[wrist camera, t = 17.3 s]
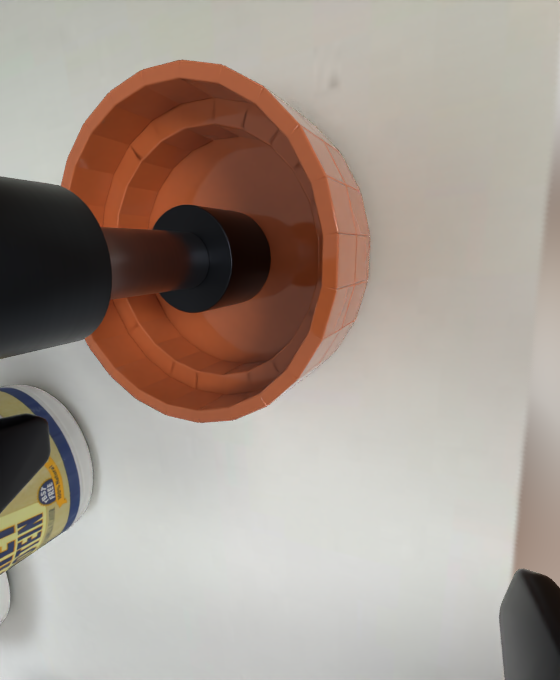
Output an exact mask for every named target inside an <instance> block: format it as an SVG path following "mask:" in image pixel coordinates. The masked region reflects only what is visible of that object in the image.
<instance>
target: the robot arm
mask: <svg viewBox="0 0 560 680" xmlns="http://www.w3.org/2000/svg"><path fill="white" fill-rule="evenodd" d="M50 453H51V447H50V436H49V425H48V422H47V420H46V419H45V418H43V417H40V416H37V415H34V414H29V413H24V414H19V415H14V416H9V417H4V418H0V513H1V512H2V511H3V510H4V509H5V508H6V507H7V506H8V505H9V504H10V502H11V501H12V500H13V499H14V498H15V497H16V496H17V495H18V494H19V492H20V491H21V490H22V489H23V488H24V487H25V486H26V485H27V484H28V482H29V481H30V480H31V479H32V478H33V477H34V476H35V475H36V474H37V472H38V471H39V470H40V469H41V468H42V467H43V466H44V465H45V463H46V462H47V461H48V459H49V456H50ZM499 621H500V633H501V644H502V655H503V666H504V677H505V680H560V588H559V587H558V586H557V585H556V583H555V582H554V581H553V580H552V579H550V578H549V577H547V576H545V575H542V574H539V573H536V572H533V571H530V570H526V569H519V570H518V571H516V573H515V574H514V576H513V579H512V581H511V583H510V585H509V587H508V590H507V592H506V594H505V596H504V599H503V601H502V603H501V607H500V613H499Z"/></svg>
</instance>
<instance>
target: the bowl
mask: <svg viewBox="0 0 560 680" xmlns="http://www.w3.org/2000/svg"><path fill="white" fill-rule="evenodd" d="M9 608H10V589H9V582H8V578H7V574H6V571H5V572H4V573H2V574H1V575H0V624H1V623H2V622H3V620H4V619H5V618H6V616H7V614H8V611H9Z"/></svg>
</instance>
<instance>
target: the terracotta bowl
mask: <svg viewBox="0 0 560 680" xmlns="http://www.w3.org/2000/svg"><path fill="white" fill-rule="evenodd" d="M61 187H64V188H66V189H68V190H70V191H71V192H73V193H74V194H75V195H77V196H78V197H79V198H80V199H81V200H82V201H83V202H84V203H85V204H86V205H87V206H88V207H89V209H90V210H91V212H92V213H93V214H94V216H95V218H96V219H97V221H98V223H99V225H100V227H110V228H128V229H147V230H152V228H153V226H154V225H155V223H156V221H157V220H158V219H159V218H160V217H161V215H162V214H164V213H165V212H166V211H167V210H169V209H171V208H173V207H175V206H178V205H196V206H203V207H209V208H216V209H223V210H230V211H236V212H240V213H243V214H245V215H247V216H249V217H250V218H252V219H253V220H254V221H255V222H256V223H257V224H258V225H259V226H260V228H261V229H262V231H263V232H264V234H265V236H266V238H267V241H268V244H269V248H270V256H271V263H270V270H269V274H268V277H267V280H266V282H265V284H264V286H263V287H262V289H261V290H260V291H259V292H258V293H257V294H256V295H255V296H254V297H253V298H251V299H249V300H247V301H245V302H242V303H238V304H234V305H229V306H225V307H221V308H217V309H212V310H208V311H204V312H199V313H188V312H183V311H180V310H178V309H176V308H174V307H173V306H171V305H170V304H168V303H167V302H166V301H165V300H164V299H163V298H162V297H161V295H160V294H159V293H154V294H147V295H140V296H133V297H126V298H119V299H112V300H110V302H109V307H108V309H107V312H106V315H105V317H104V319H103V321H102V322H101V324H100V325H99V327H98V328H97V329H96V330H95V331H94V332H93V333H92V334H91V335H89V336H88V337H86V338H84V339H85V341H86V343H87V345H88V346H89V348H90V349H91V351H92V352H93V353H94V355H95V356H96V357H97V359H98V360H99V361H100V363H101V364H102V366H103V367H104V368H105V370H106V371H107V372H108V374H109V375H111V377H112V378H113V379H114V380H115V381H116V382H118V383H119V384H120V385H121V386H122V387H123V388H124V389H125V390H127V391H128V392H129V393H130V394H131V395H132V396H133V397H134V398H136V399H137V400H139V401H141V402H143V403H144V404H146V405H148V406H150V407H152V408H154V409H155V410H157V411H159V412H161V413H163V414H165V415H167V416H171V417H176V418H180V419H184V420H189V421H193V422H197V423H199V422H200V423H205V422H218V421H231V420H236V419H238V418H241V417H243V416H245V415H248V414H250V413H253V412H255V411H257V410H260V409H262V408H264V407H267V406H268V405H270V404H271V403H272V402H274V401H275V400H276V399H278V398H279V397H280V396H282V395H283V394H284V393H286V392H287V391H288V390H290V389H291V388H292V387H294V386H295V385H296V384H298V383H299V382H300V381H302V380H303V379H304V378H305V377H307V376H308V375H309V374H311V373H312V372H313V371H314V370H315V369H316V368H318V367H319V366H320V365H321V364H322V363H323V362H324V361H326V360H327V359H328V358H329V357H330V356H331V355H333V353H334V352H335V351H336V350H337V348H338V347H339V345H340V344H341V342H342V341H343V339H344V337H345V336H346V334H347V333H348V331H349V330H350V328H351V327H352V325H353V324H354V322H355V319H356V317H357V314H358V311H359V307H360V304H361V301H362V298H363V295H364V292H365V288H366V285H367V280H368V271H369V251H370V237H369V236H370V232H369V228H368V223H367V218H366V214H365V209H364V204H363V199H362V195H361V192H360V189H359V187H358V185H357V183H356V181H355V180H354V178H353V176H352V174H351V172H350V170H349V168H348V166H347V164H346V162H345V160H344V158H343V156H342V154H341V153H340V152H339V150H338V149H337V148H336V147H335V146H334V145H333V144H332V143H331V142H330V141H329V140H328V139H327V138H326V137H325V136H324V134H323V133H322V132H321V131H320V130H319V129H318V128H317V127H316V126H315V125H314V124H313V123H312V122H310V121H309V120H308V119H306V118H305V117H304V116H302V115H301V114H300V113H298V112H297V111H296V110H294V109H293V108H292V107H290V106H289V105H288V104H287V103H285V102H284V101H283V100H281V99H280V98H279V97H277V96H276V95H275V94H273V93H272V92H271V91H269V90H268V89H267V88H265V87H264V86H262V85H260V84H258V83H257V82H255V81H253V80H251V79H249V78H247V77H245V76H243V75H242V74H240V73H238V72H236V71H234V70H232V69H230V68H228V67H226V66H223V65H222V64H213V63H205V62H197V61H189V60H177V61H174V62H170V63H166V64H162V65H158V66H154V67H150V68H146V69H143V70H141V71H139V72H137V73H136V74H135V75H133V76H132V77H130V78H129V79H127V80H126V81H124V82H123V83H121V84H120V85H118V86H117V87H115V88H114V89H112V90H111V91H110V93H108V94H107V95H106V96H105V97H104V99H103V100H102V101H101V102H100V104H99V105H98V106H97V107H96V109H95V110H94V111H93V112H92V114H91V115H90V116H89V117H88V119H87V120H86V121H85V123H84V124H83V126H82V128H81V130H80V132H79V134H78V136H77V139H76V141H75V143H74V145H73V147H72V149H71V152H70V154H69V156H68V160H67V161H66V166H65V170H64V174H63V179H62V183H61Z"/></svg>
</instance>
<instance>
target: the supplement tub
mask: <svg viewBox="0 0 560 680" xmlns="http://www.w3.org/2000/svg"><path fill="white" fill-rule="evenodd" d="M24 413H29V414H34V415H37V416H40V417H43V418H45V419H46V420H47V422H48V425H49V436H50V447H51V453H50V456H49V459H48V461H47V462H46V463H45V465H44V466H43V467H42V468H41V469H40V470H39V471H38V472H37V474H36V475H35V476H34V477H33V478H32V479H31V480H30V481H29V482H28V484H27V485H26V486H25V487H24V488H23V489H22V490H21V491H20V492H19V494H18V495H17V496H16V497H15V498H14V499H13V500H12V501H11V502H10V504H9V505H8V506H7V507H6V508H5V509H4V510H3V511H2V512H1V513H0V575H1V574H2V573H4V572H5V571H7V570H8V569H10V568H11V567H13V566H14V565H16V564H17V563H19V562H20V561H22V560H23V559H24V558H26V557H27V556H29V555H30V554H32V553H33V552H35V551H36V550H38V549H39V548H41V547H42V546H43V545H45V544H46V543H48V542H49V541H51V540H52V539H54V538H55V537H57V536H58V535H60V534H61V533H63V532H64V531H66V530H68V529H69V528H70V527H72V525H73V524H74V523H76V522H77V521H78V520H79V518H80V517H81V516H82V515H83V513H84V512H85V511H86V509H87V506H88V504H89V501H90V498H91V494H92V488H93V467H92V461H91V456H90V452H89V449H88V446H87V443H86V440H85V438H84V436H83V434H82V431H81V429H80V428H79V426H78V424H77V422H76V421H75V419H74V418H73V416H72V415H71V414H70V412H69V411H68V410H67V408H66V407H65V406H64V405H63V404H62V403H61V402H59V401H58V400H57V399H56V398H55V397H53V396H52V395H50V394H49V393H47V392H45V391H43V390H41V389H39V388H35V387H32V386H27V385H12V386H3V387H0V418H4V417H9V416H14V415H19V414H24Z"/></svg>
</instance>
